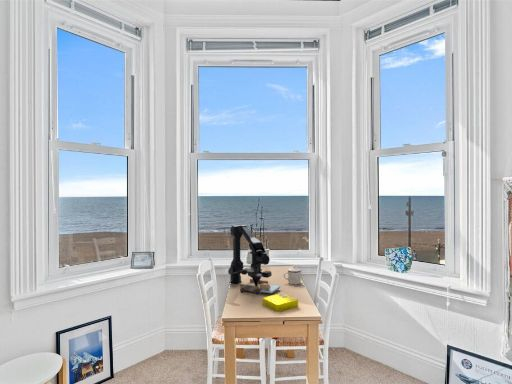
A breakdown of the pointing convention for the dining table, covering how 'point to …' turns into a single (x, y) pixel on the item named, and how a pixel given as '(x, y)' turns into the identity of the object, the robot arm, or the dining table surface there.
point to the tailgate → (271, 289)
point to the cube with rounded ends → (265, 286)
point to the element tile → (280, 302)
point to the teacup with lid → (293, 275)
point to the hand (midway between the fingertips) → (256, 286)
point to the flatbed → (252, 286)
